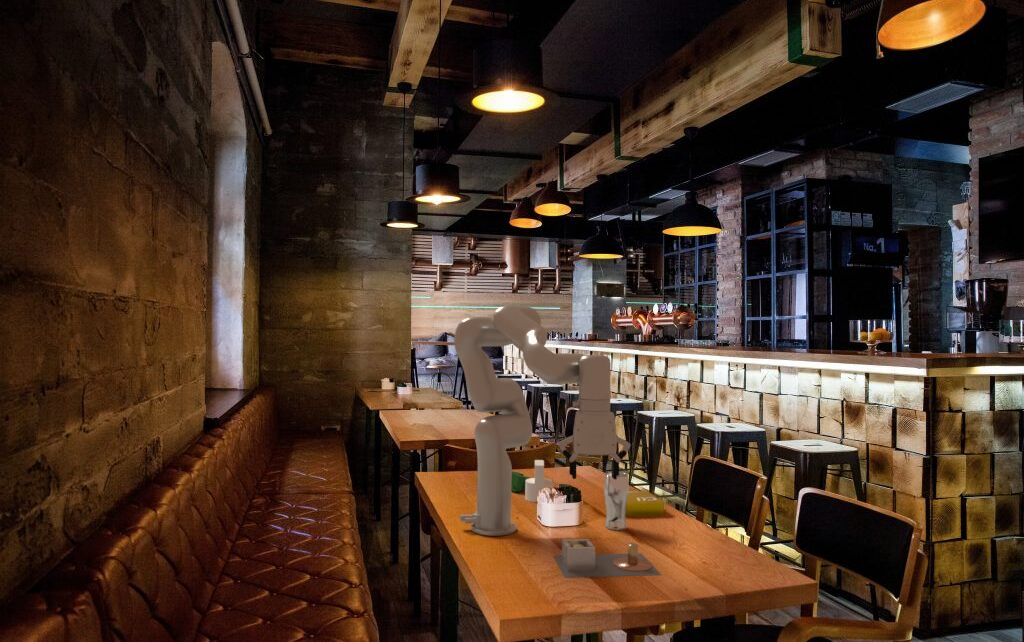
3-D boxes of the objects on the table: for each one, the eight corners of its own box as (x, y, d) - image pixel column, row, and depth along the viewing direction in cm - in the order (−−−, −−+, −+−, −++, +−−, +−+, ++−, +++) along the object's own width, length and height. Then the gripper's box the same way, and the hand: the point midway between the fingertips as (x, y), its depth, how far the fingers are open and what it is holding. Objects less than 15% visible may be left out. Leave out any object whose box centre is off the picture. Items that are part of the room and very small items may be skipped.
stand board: (564, 584, 141) (565, 556, 141) (553, 561, 154) (553, 536, 155) (661, 581, 143) (662, 554, 143) (641, 559, 157) (641, 534, 157)
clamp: (525, 503, 223) (535, 482, 221) (510, 501, 220) (520, 479, 218) (514, 483, 233) (524, 462, 231) (500, 480, 231) (509, 459, 229)
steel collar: (567, 571, 145) (567, 548, 145) (561, 560, 151) (562, 539, 151) (594, 570, 145) (595, 548, 145) (588, 560, 152) (588, 539, 152)
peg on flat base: (619, 571, 145) (619, 551, 145) (608, 557, 154) (608, 538, 154) (657, 570, 146) (658, 550, 146) (645, 556, 155) (645, 538, 155)
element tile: (647, 503, 211) (647, 489, 211) (665, 516, 196) (666, 501, 196) (603, 505, 208) (603, 490, 208) (619, 518, 194) (619, 502, 194)
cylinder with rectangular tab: (525, 495, 217) (525, 459, 218) (551, 495, 217) (552, 460, 217) (525, 502, 208) (525, 465, 209) (552, 502, 208) (553, 465, 208)
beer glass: (627, 531, 179) (628, 477, 179) (602, 529, 180) (603, 476, 181) (628, 524, 186) (629, 472, 186) (604, 522, 187) (605, 471, 187)
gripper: (559, 407, 150) (559, 481, 150) (633, 408, 151) (633, 481, 150) (557, 404, 158) (556, 474, 157) (627, 405, 158) (627, 475, 158)
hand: (594, 478), depth 154 cm, fingers open, 9 cm apart
